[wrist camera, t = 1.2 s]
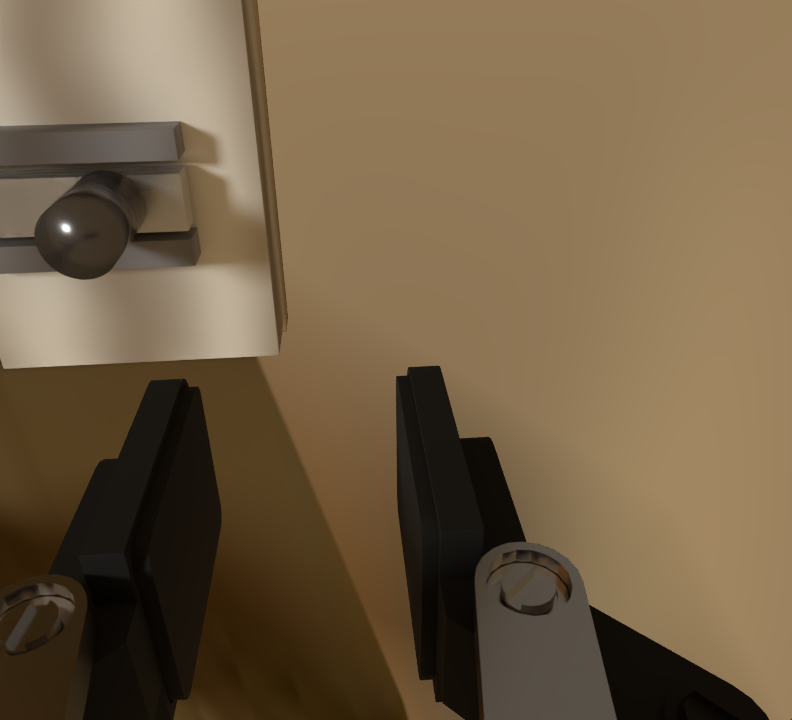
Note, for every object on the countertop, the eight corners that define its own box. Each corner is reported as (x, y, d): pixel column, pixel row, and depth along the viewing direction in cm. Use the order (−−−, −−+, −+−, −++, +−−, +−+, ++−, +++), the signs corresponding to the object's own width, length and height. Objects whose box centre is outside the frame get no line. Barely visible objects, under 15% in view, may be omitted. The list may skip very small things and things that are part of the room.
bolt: (184, 158, 24) (156, 199, 20) (195, 224, 26) (170, 276, 22) (-55, 165, 24) (-133, 210, 20) (-33, 233, 25) (-102, 287, 21)
